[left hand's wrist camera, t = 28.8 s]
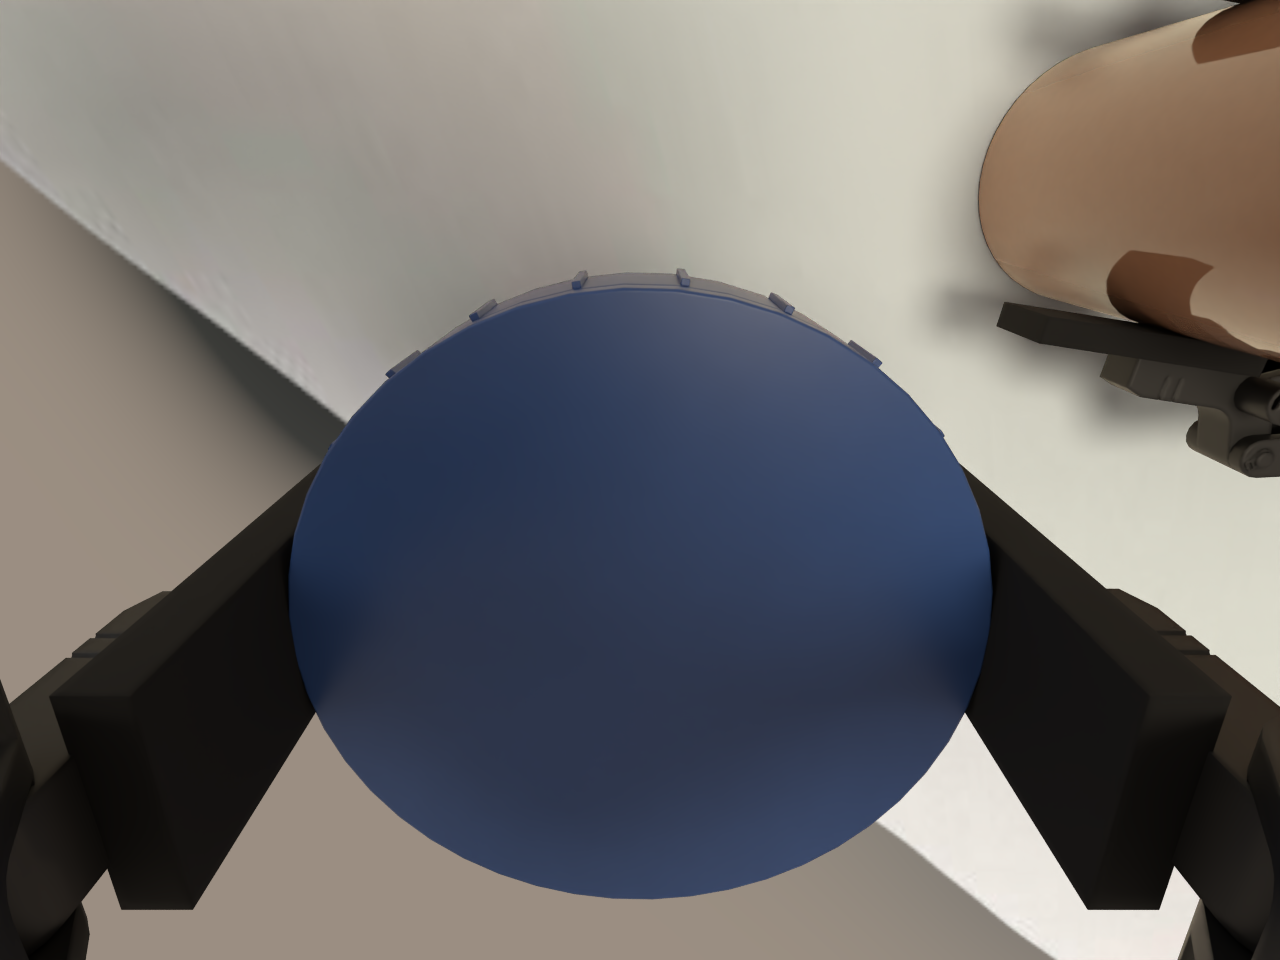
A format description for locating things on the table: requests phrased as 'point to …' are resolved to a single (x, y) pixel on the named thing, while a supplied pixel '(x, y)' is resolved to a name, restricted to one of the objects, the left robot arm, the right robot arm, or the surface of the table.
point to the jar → (1151, 180)
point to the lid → (640, 588)
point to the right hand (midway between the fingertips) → (1079, 150)
